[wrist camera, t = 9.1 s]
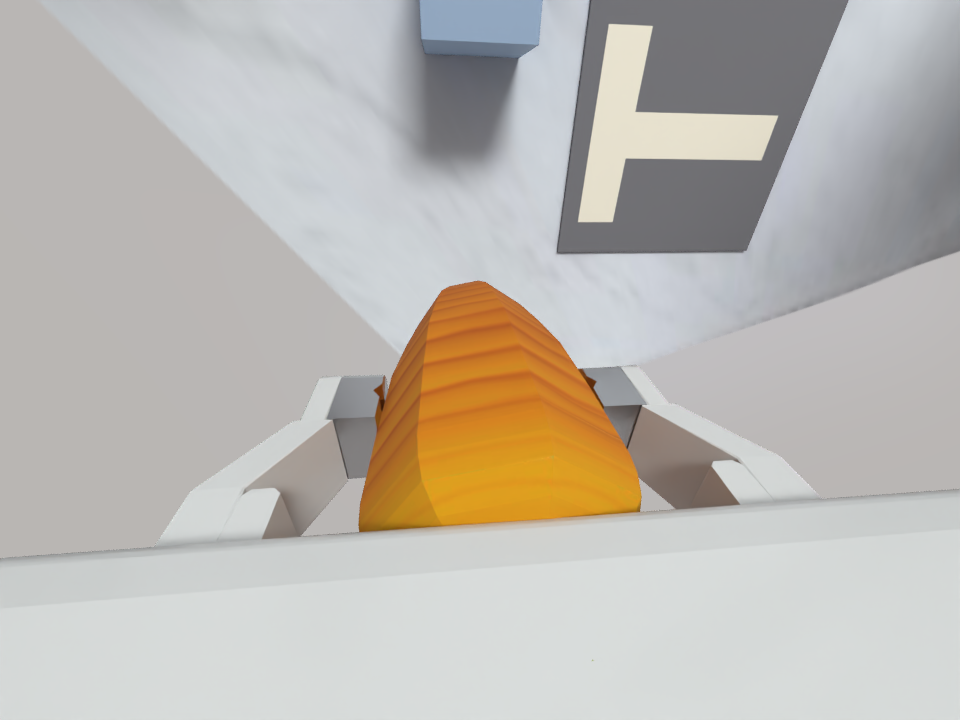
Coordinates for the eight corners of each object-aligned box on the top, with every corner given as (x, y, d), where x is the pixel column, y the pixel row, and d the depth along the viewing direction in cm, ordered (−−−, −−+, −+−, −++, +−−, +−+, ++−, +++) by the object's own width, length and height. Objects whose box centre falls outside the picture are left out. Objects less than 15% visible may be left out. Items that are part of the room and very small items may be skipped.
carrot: (451, 365, 17) (488, 1081, 4) (376, 278, 14) (-23, 1358, 2) (549, 308, 16) (972, 1052, 3) (487, 201, 13) (1260, 1623, 1)
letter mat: (852, -15, 20) (855, -16, 20) (744, 249, 28) (746, 250, 27) (594, -30, 19) (595, -31, 19) (557, 251, 26) (557, 252, 26)
